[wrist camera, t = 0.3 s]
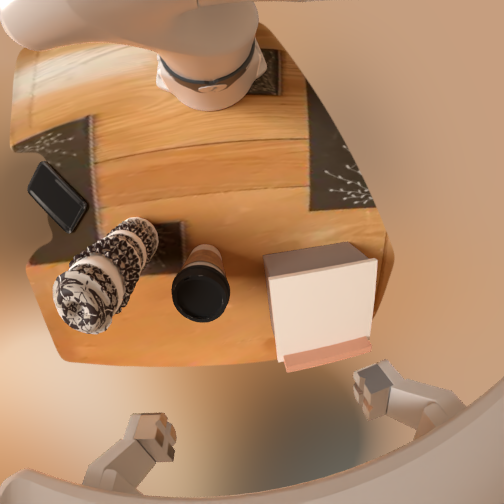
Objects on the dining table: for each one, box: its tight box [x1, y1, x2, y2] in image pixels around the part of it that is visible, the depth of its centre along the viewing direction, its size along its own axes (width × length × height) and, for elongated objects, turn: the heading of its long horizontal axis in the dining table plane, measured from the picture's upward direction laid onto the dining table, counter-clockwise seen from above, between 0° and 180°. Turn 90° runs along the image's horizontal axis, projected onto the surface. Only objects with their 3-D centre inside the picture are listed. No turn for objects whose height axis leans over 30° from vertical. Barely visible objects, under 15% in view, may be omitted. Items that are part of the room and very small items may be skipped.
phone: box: [28, 161, 87, 233], centre depth 42 cm, size 8×1×15 cm
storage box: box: [263, 242, 369, 337], centre depth 49 cm, size 16×17×10 cm
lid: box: [268, 258, 378, 372], centre depth 42 cm, size 17×18×4 cm
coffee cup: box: [172, 244, 230, 322], centre depth 43 cm, size 8×8×15 cm
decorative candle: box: [53, 217, 159, 334], centre depth 35 cm, size 9×9×25 cm
